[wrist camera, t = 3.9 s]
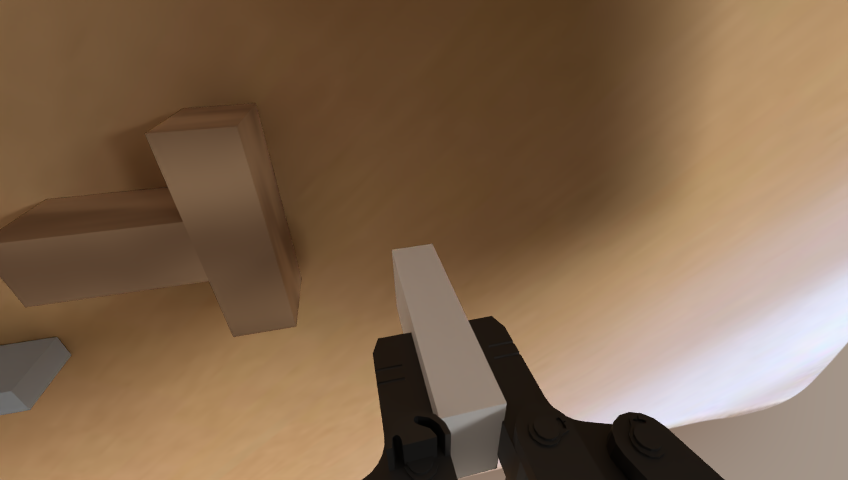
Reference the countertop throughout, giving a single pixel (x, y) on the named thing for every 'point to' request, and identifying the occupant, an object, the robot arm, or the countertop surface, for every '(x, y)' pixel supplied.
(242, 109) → the tee block
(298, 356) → the countertop surface
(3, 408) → the corral
